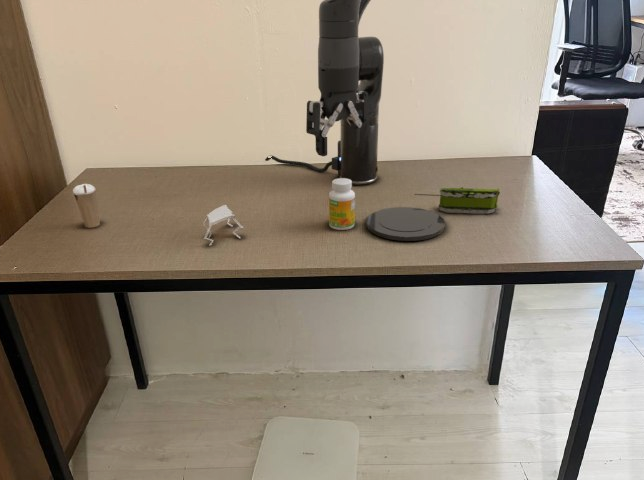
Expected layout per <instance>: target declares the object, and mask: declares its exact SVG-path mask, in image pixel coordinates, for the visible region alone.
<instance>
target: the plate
mask: <svg viewBox="0 0 644 480" xmlns="http://www.w3.org/2000/svg"><path fill="white" fill-rule="evenodd" d="M445 225H446V221H445V219H444V218H443V216H441V215H439V214H438V213H436V212H434V211H431V210H428V209H424V208H420V207H412V206H411V207H410V206H397V207H396V206H395V207H387V208H382V209H379V210H377V211H374V212H372V213H370V215H368V217H367V218H366V227H367V229H368V231H369V232H371V233H372V234H373V235H375V236H378V237H380V238H384V239H387V240H393V241H400V242H414V241H415V242H417V241H425V240H428V239H432V238H435V237H436V236H437V237H438V236H439V235H441V234H442V233H443V232H444V230H445V227H446V226H445Z"/></svg>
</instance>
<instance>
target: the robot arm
mask: <svg viewBox="0 0 644 480" xmlns="http://www.w3.org/2000/svg"><path fill="white" fill-rule="evenodd" d="M371 1H372V0H322V1H321V2H320V4H319V7H318V45H317V80H318V81H317V83H318V84H317V87H318V90H319V91H320V92H319V93H320V98H319V100H315V101H314V100H308V101H306V122H305V123H306V125H305V126H306V127H305V129H306V130H305V132H306V134H309V135H313V136H314V137H315V152H316V153H317V156H320V157H327V156H328V136H327V135H328V133H329V131H330V129H331V128H332V127H333V126H334V125H335V123H336V122H340V123H339V124H340V129H339V130H340V131H339V132H340V140H338V141H337V155H336V156H335V157H331V161H329V162H327V163H326V164H325V165H324V167H321V168H320V167H316V166H314V165H312V164H310V163H308V162H303V161H297V160H286V159H281V158H278V157H277V156H275V155H271V156H272V157H271V158H272V159H271V158H268V156H267V157H266V158H265V159H264V161H266V162H269V161H270V160H273V161H275V162H277V163H279V164H283V165H292V166H301V167H306V168H309V169H311V170H312V171H315V172H318V173H324V172H327V170H328V169H329V168H330V167H331V170H333V171H337V179H338V178H346V179H350V180H351V181H352V186H365V185H370V184H373V183H375V182H376V181H377V180H378V172H379V171H378V153H379V149H378V148H379V117H380V116H379V114H380V112H379V111H380V101H381V98H382V90H383V89H382V87H383V76H384V65H385V64H384V63H385V60H384V58H385V54H384V53H385V52H384V48H383V44H382V42H381V40H380V38H378V37H377V36H361V37H359V25H360V23H361V20H362V17H363V14H364V13H365V10H367V7H368V5H369V4H370V3H371Z"/></svg>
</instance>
